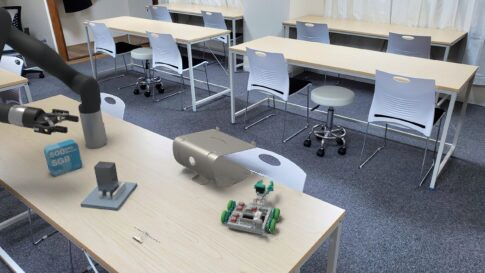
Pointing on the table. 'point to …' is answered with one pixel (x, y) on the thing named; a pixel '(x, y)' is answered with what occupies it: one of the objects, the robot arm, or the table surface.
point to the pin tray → (109, 197)
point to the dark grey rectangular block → (106, 177)
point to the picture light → (145, 233)
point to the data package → (63, 157)
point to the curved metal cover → (211, 156)
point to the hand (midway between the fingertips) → (73, 124)
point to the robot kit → (252, 212)
